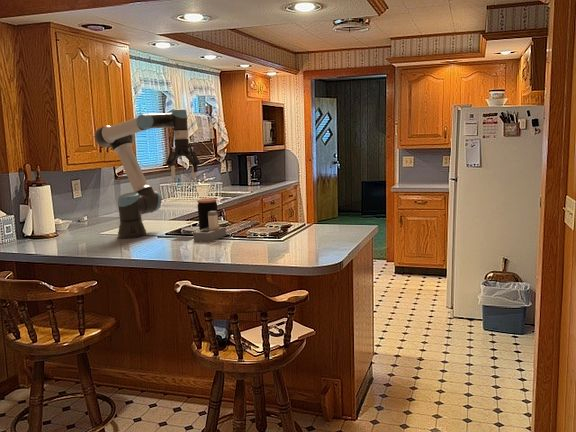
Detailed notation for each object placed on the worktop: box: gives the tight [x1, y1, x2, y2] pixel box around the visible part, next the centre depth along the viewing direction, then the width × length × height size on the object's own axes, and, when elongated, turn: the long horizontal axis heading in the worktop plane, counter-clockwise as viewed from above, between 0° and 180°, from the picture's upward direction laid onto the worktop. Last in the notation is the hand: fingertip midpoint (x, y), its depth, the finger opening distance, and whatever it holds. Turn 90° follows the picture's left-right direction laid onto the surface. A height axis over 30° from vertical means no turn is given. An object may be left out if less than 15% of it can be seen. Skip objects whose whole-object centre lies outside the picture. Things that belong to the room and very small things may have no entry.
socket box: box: [192, 226, 227, 243], centre depth 291 cm, size 10×16×5 cm, turn 156°
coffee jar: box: [196, 198, 220, 230], centre depth 309 cm, size 11×11×18 cm
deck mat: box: [171, 235, 194, 242], centre depth 293 cm, size 10×10×1 cm
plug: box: [208, 211, 219, 229], centre depth 294 cm, size 4×4×13 cm
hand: (183, 178), depth 301 cm, fingers open, 13 cm apart
